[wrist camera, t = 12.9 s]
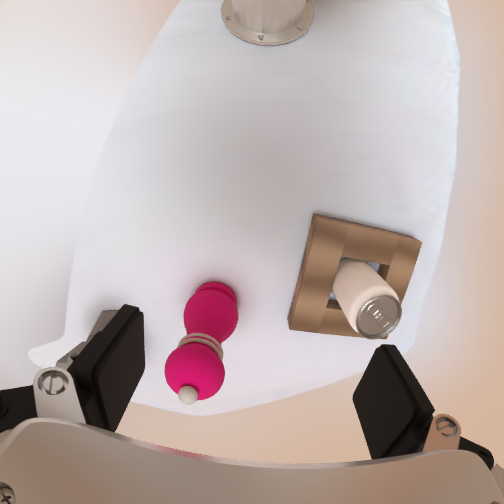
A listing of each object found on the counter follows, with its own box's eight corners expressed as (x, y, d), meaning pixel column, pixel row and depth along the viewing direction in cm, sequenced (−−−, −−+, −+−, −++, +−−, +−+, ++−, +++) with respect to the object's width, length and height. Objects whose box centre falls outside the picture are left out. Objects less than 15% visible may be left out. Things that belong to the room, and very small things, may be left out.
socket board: (313, 213, 37) (317, 218, 34) (412, 236, 37) (422, 242, 34) (287, 318, 42) (289, 329, 39) (379, 329, 42) (386, 339, 39)
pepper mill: (250, 298, 41) (243, 401, 22) (220, 329, 42) (198, 433, 23) (209, 268, 39) (171, 358, 20) (182, 302, 41) (135, 398, 22)
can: (353, 246, 38) (387, 279, 27) (377, 276, 39) (413, 315, 28) (319, 277, 39) (341, 320, 28) (345, 304, 41) (371, 351, 29)
